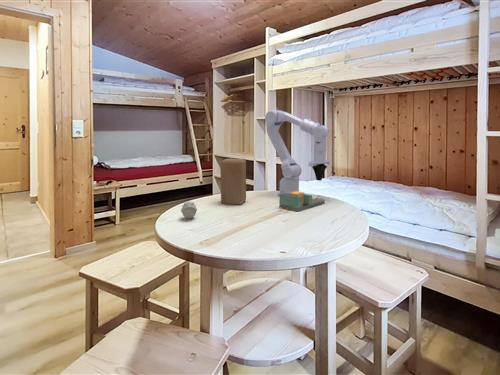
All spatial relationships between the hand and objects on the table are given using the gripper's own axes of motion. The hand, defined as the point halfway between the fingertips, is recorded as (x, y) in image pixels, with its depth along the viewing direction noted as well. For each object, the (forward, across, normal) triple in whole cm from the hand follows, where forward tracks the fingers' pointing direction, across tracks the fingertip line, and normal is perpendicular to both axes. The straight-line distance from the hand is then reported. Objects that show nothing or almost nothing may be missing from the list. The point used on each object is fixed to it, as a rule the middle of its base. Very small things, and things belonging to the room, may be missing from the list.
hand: (318, 180), depth 160 cm
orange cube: (+8, -20, -2) cm, 21 cm away
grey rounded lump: (+10, -63, +16) cm, 66 cm away
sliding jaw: (+8, -14, -2) cm, 16 cm away
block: (+10, -33, +24) cm, 42 cm away
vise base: (+9, -15, -2) cm, 18 cm away
